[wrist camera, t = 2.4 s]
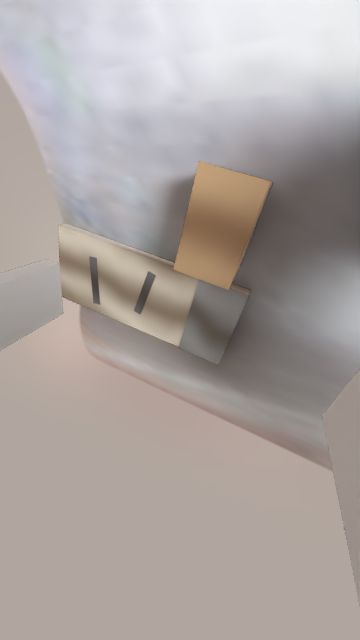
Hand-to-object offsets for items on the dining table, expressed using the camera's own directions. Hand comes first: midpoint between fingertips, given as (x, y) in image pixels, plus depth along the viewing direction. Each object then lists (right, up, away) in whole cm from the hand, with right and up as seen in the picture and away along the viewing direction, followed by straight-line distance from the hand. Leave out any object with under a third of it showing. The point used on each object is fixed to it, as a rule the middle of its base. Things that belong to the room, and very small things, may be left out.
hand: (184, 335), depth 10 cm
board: (-5, +4, +20) cm, 21 cm away
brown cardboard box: (+5, +11, +13) cm, 18 cm away
